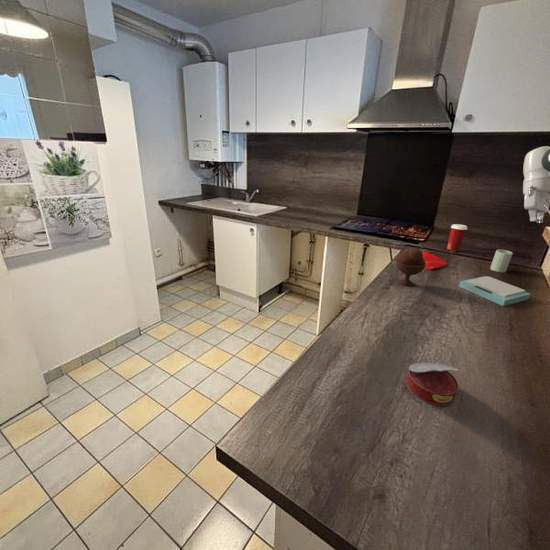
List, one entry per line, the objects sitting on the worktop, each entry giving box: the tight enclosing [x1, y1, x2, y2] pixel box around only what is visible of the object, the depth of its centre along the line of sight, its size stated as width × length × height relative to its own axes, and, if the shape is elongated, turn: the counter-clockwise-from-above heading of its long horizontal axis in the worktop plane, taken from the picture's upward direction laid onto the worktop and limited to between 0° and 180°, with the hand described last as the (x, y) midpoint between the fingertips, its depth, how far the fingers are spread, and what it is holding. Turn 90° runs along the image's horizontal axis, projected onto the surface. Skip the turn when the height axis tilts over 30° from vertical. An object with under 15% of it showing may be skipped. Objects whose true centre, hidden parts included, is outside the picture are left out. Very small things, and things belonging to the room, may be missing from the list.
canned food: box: [405, 361, 460, 406], centre depth 64 cm, size 11×10×10 cm
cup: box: [489, 249, 514, 273], centre depth 133 cm, size 6×6×9 cm
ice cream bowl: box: [395, 248, 426, 287], centre depth 115 cm, size 11×11×15 cm
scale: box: [458, 275, 531, 307], centre depth 112 cm, size 17×15×3 cm
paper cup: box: [446, 223, 468, 251], centre depth 158 cm, size 8×8×14 cm
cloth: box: [422, 251, 448, 271], centre depth 142 cm, size 26×14×2 cm, turn 149°
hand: (536, 222), depth 121 cm, fingers open, 8 cm apart
